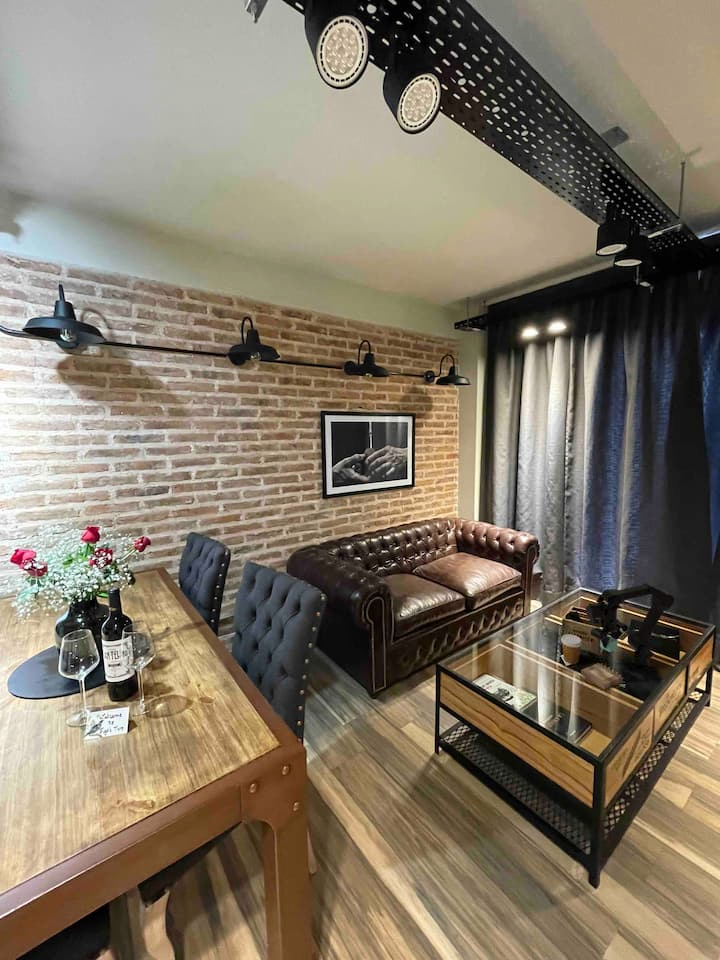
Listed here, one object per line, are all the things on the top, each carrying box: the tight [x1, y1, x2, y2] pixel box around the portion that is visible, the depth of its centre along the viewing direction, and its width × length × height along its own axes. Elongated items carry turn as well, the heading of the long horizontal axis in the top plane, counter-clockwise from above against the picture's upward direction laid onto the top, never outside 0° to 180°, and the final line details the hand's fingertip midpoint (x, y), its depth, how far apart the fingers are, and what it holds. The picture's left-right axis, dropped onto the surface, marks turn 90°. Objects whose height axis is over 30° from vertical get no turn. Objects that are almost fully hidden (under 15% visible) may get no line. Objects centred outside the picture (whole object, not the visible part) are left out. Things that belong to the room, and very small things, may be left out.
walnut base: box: [580, 662, 624, 691], centre depth 189 cm, size 12×12×2 cm
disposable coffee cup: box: [560, 633, 583, 665], centre depth 203 cm, size 10×10×12 cm
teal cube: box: [599, 634, 618, 653], centre depth 196 cm, size 5×5×5 cm
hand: (608, 646), depth 196 cm, fingers closed on teal cube, 5 cm apart
